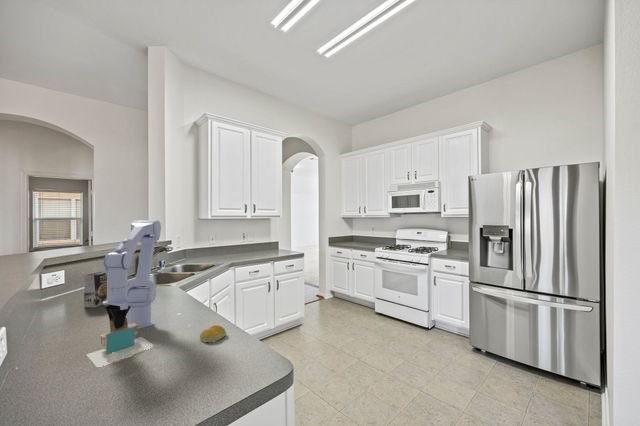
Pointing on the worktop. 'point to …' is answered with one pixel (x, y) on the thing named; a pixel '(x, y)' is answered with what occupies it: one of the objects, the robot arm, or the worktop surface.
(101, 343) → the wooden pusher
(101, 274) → the coffee box
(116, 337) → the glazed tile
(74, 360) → the worktop surface
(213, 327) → the bread roll
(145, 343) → the rubber mat
